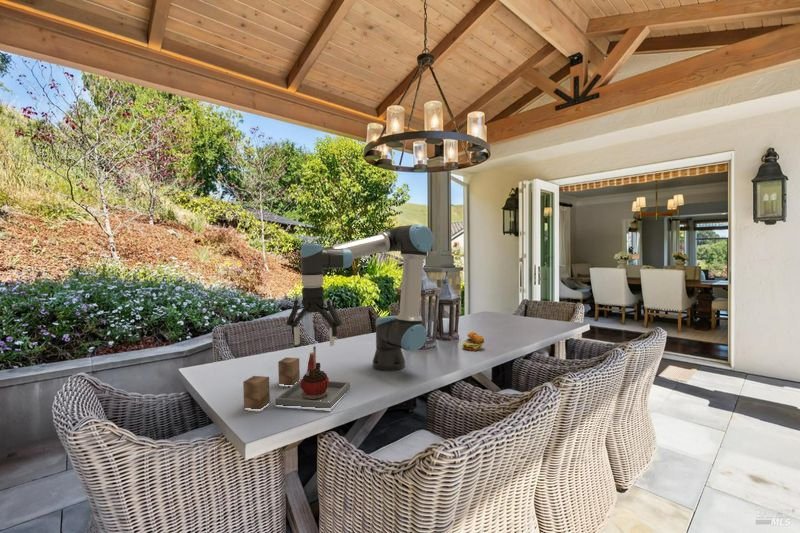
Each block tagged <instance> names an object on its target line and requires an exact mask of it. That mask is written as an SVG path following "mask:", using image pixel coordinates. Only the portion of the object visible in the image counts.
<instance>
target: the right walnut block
mask: <svg viewBox="0 0 800 533" xmlns="http://www.w3.org/2000/svg"><path fill="white" fill-rule="evenodd" d="M277 363H278V369H277V370H278V385H279V384H284V385H294V384H295V383H296V382H298V381H299V380H301V379H300V378H301V377H300V374H301V373H300V372H301V371H300V358H299V357H284V358H282V359H280V360H279V361H278V362H277Z"/></svg>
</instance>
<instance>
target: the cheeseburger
mask: <svg viewBox="0 0 800 533" xmlns="http://www.w3.org/2000/svg"><path fill="white" fill-rule="evenodd" d="M467 337H468V338H466V339H465V340H464V341H463V343H462V346H461V347H462V349H463V350H468V351H472V352H476V351H480V350H481V348H482V347H483V344H484V343H485V338H484V337H483V336H482V335H479V334H478V333H477V332H474V331H471V332H469V333H468V334H467Z"/></svg>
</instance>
